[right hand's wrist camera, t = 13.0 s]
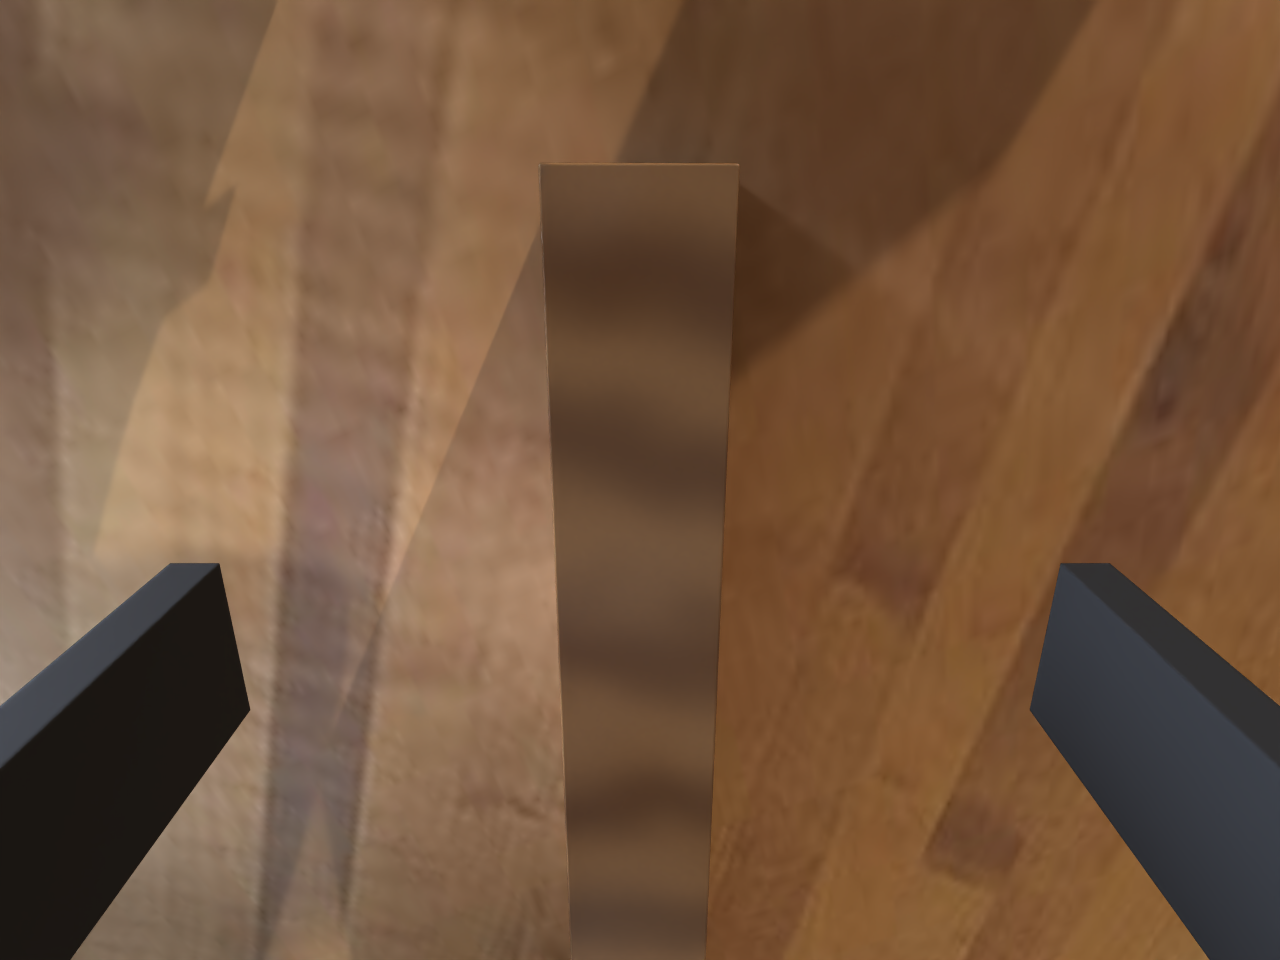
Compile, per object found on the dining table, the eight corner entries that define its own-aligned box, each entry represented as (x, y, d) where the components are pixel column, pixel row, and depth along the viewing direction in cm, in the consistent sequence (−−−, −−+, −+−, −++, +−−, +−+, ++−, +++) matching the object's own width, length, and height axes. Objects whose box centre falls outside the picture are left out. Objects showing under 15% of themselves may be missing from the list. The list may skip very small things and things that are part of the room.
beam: (562, 164, 31) (537, 163, 23) (715, 165, 31) (739, 163, 23) (592, 1135, 51) (584, 1300, 44) (683, 1135, 51) (691, 1300, 44)
